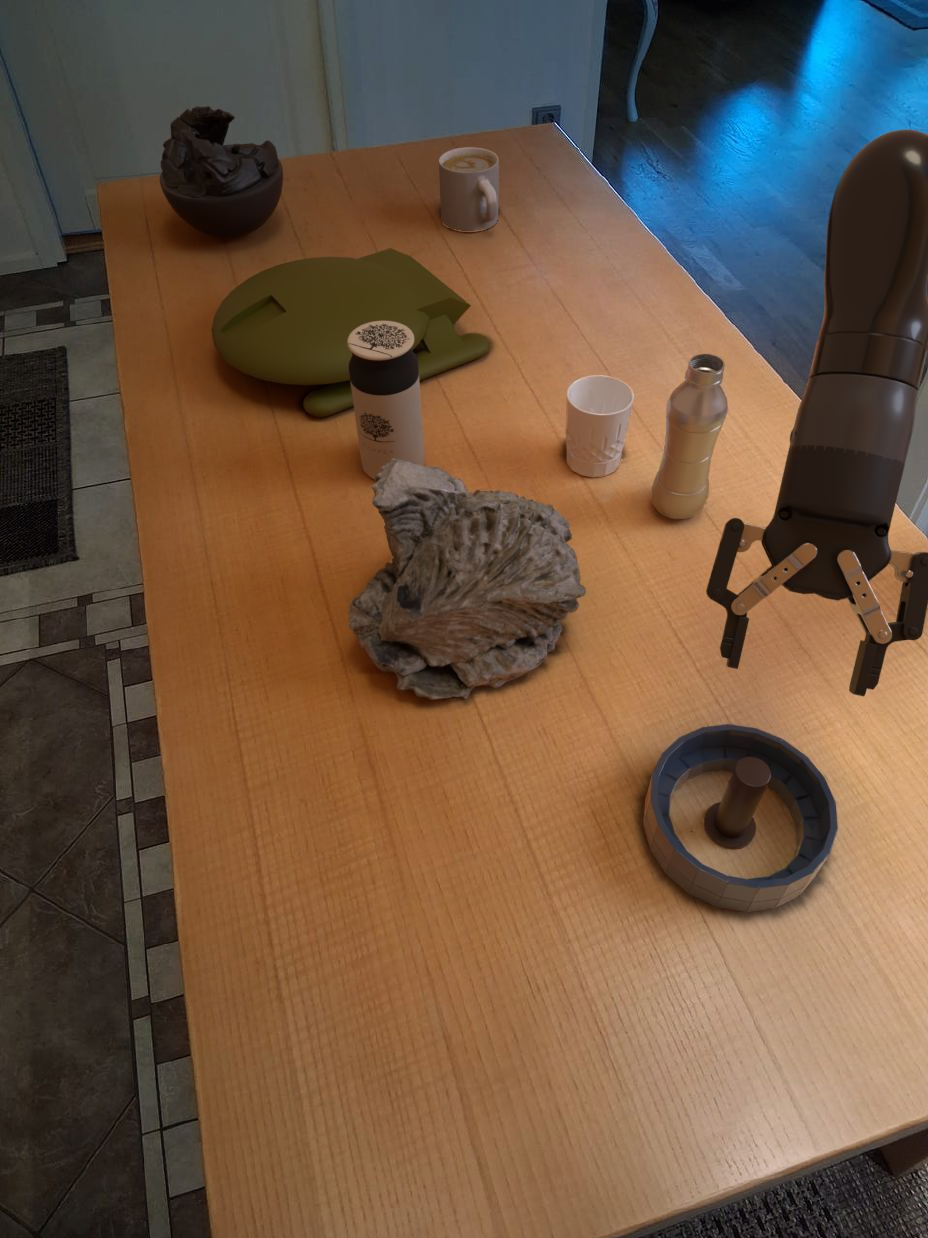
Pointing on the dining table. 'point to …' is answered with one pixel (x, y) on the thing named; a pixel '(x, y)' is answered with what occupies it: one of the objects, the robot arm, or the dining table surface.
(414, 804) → the dining table surface
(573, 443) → the white cup
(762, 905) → the faceted gray band ring
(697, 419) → the plastic bottle
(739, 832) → the dark brown peg stand
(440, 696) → the rock
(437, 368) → the spaceship
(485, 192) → the coffee mug
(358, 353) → the travel mug
